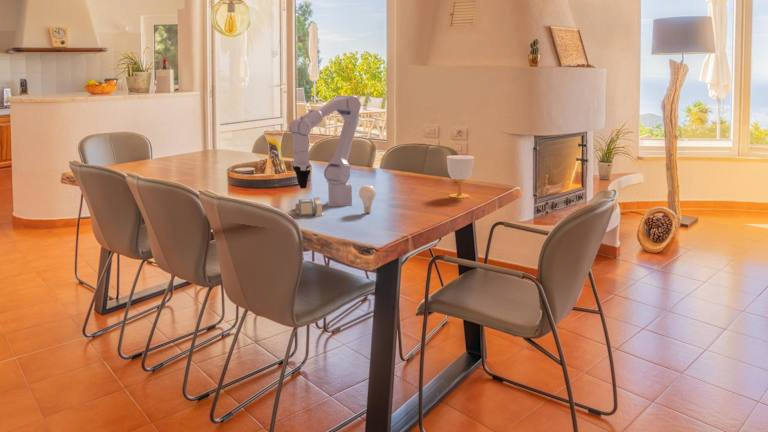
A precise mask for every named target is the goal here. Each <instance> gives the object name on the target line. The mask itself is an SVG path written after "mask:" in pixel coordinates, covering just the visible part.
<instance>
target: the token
mask: <svg viewBox="0 0 768 432" xmlns="http://www.w3.org/2000/svg"><path fill="white" fill-rule="evenodd" d="M294 206H295V207H294V208H296V210H299V202H298V203H295V205H294ZM296 210H295V211H296Z"/></svg>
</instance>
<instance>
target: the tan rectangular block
mask: <svg viewBox="0 0 768 432" xmlns="http://www.w3.org/2000/svg"><path fill="white" fill-rule="evenodd" d="M313 215H314V217H324V216H325V215H324V213H323V203H322V200H321V199H320V198H319V197H313Z"/></svg>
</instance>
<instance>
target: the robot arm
mask: <svg viewBox="0 0 768 432" xmlns="http://www.w3.org/2000/svg"><path fill="white" fill-rule="evenodd" d="M361 107H362V104H361V101H360V99H359V97H358V96H357V95H341V94H338V95H335V97H334V96H333V97H332V98H331V100H329V101H328V102H327V103H325V104H324V105H323V106H321V107H320V108H319V109H313V108H311V109H309V110H308V112H307V113H306V114H304V115H300V116H299V118H294V119H293V120H292V121H291V122H290V124H289V126H288V130H289V132H290V134H291V138H292V146H293V147H292V148H293V150H292V151H293V162H290V165H291V166H293V167H292V168H293V169H294V172H295V175H296V180H297V184H298V186H299V187H300V189H307V186H308V180H309V176H310V174H311V170H310V169H308V167H309V165H310V158H309V155H310V151H309V134H311V131H312V129H314V128H315V127H317V126H318V125H319V124H321V123H322V122H323V120H324V118H325V117H326V116H328V115H330V114H332V113H334V112H335V111H336V112H337V113H338V114H339V115H340V116H341V117H342V118H343V125H342V128H341V130H340V131H341V132H340V134H339V139H338V141H337V145H336V149H335V153H334V156H333V158H332V159H330V160H329V161H328V163H327V166H326V167H325V169H324V171H323V175H324V178H325V180H326V183H327V189H328V190H327V191H328V192H327V193H328V194H327V195H328V196H327V197H328V200H327V201H326V204H327V206H328V207H340V206H342V207H343V206H344V207H346V206H353V195H352V194H353V190H352V188H353V187H352V183H351V182H348V181H349V180H350V177H351V173H350V172H351V165H350V163H349V161H348V159H349V156H350V152H351V149H352V146H353V142H354V138H355V134H356V131H357V127H358V124H359V120H360V119H359V117H360V116H359V115H360V110H361Z"/></svg>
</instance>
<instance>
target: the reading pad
mask: <svg viewBox="0 0 768 432" xmlns="http://www.w3.org/2000/svg"><path fill="white" fill-rule="evenodd" d="M297 215H298V217H299V218H300V217H313V215H314V214H313V215H300V214H299V212H298V213H297Z"/></svg>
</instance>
